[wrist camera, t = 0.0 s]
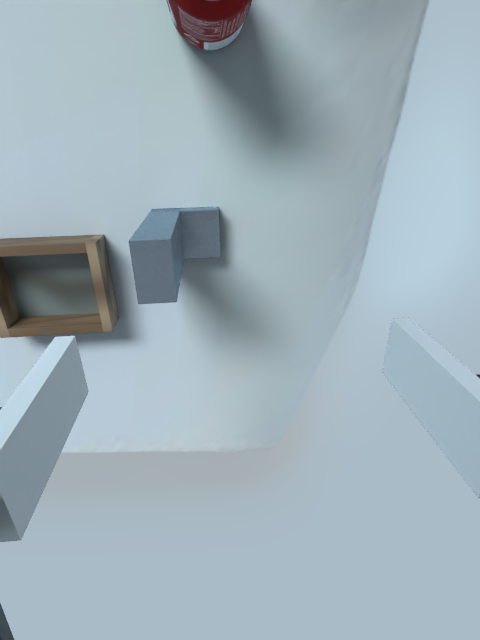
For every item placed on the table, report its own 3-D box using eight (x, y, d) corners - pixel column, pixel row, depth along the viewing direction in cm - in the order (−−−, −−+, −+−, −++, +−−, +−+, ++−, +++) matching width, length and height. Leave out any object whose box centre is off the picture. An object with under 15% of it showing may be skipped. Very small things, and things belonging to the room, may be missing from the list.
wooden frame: (-12, 239, 39) (-31, 247, 36) (103, 234, 40) (95, 242, 37) (15, 323, 44) (0, 337, 41) (118, 317, 45) (112, 331, 41)
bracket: (157, 254, 42) (138, 304, 29) (152, 209, 40) (128, 241, 27) (220, 252, 42) (227, 299, 30) (218, 206, 40) (224, 237, 27)
